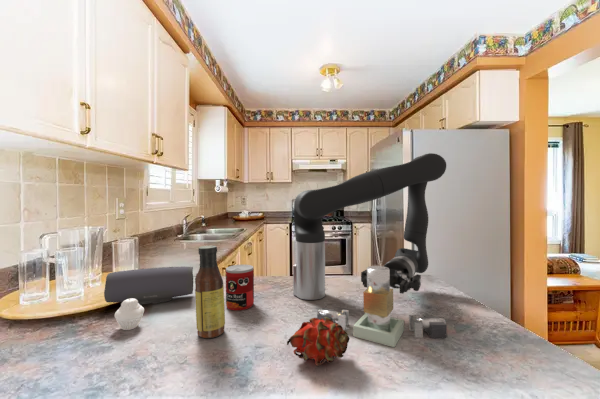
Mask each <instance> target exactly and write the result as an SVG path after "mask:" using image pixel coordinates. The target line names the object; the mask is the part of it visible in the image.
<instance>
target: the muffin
mask: <svg viewBox="0 0 600 399" xmlns="http://www.w3.org/2000/svg"><path fill="white" fill-rule="evenodd" d="M144 312H145V308H144V307H143V306H142V304H139V303H138V300H137V299H134V298H131V299H130V298H129V299H127V300H124V301H123V302H120V307H119V308H118V309H117V310H116V311H115V313H114V319H115V320H116V322H117V324H118V325H119V326H120V328H121V330H123V331H130V330H133V329H136V328H138V327H139V326H138V325H139V324H140V322H141V321H142V318H143V316H144Z"/></svg>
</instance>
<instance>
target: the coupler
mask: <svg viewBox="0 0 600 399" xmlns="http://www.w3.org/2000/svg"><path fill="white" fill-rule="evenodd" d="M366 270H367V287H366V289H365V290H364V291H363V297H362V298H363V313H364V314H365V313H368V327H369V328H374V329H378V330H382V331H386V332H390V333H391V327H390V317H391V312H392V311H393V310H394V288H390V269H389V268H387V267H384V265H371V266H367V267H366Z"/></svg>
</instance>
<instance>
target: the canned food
mask: <svg viewBox="0 0 600 399" xmlns="http://www.w3.org/2000/svg"><path fill="white" fill-rule="evenodd" d="M254 271H255V270H254V266H253V265H251V264H234V265H230V266H227V267H226V268H225V305H226V307H227V309H228V310H230V311H237V312H238V311H244V310H245V311H246V310H249V309H250V308H251V307H252V306H254V302H255V299H254V298H255V290H254V288H255V284H254V282H255V281H254V280H255V278H254V277H255V272H254Z"/></svg>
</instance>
